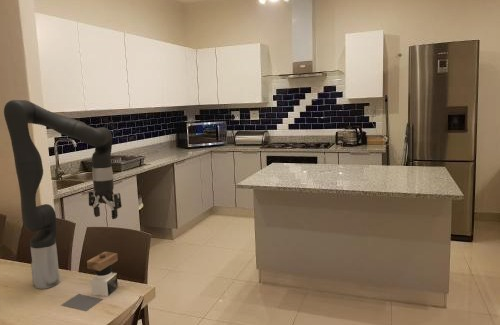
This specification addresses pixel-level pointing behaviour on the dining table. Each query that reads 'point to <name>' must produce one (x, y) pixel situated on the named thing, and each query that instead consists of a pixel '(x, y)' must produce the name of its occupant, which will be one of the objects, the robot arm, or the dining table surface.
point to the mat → (82, 302)
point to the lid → (102, 261)
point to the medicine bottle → (104, 282)
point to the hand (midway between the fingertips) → (106, 217)
